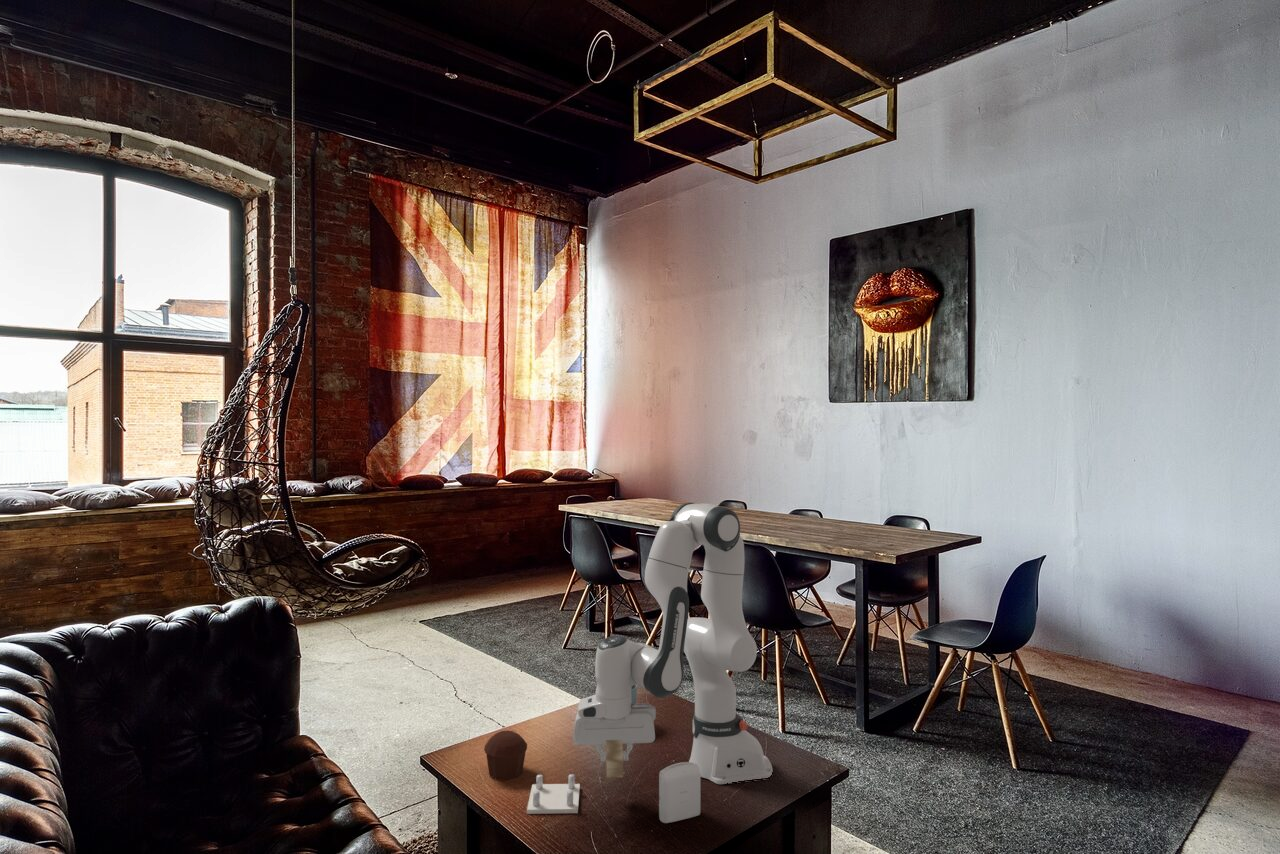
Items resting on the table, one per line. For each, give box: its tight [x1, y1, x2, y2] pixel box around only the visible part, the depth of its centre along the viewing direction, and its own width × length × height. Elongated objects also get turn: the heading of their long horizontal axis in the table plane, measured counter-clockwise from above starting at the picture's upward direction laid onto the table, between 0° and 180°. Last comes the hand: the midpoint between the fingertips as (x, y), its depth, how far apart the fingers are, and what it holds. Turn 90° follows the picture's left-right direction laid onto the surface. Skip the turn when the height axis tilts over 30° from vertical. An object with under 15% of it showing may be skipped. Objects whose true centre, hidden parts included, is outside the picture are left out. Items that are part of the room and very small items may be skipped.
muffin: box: [483, 730, 528, 781], centre depth 187 cm, size 12×11×10 cm
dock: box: [526, 773, 581, 815], centre depth 173 cm, size 12×12×4 cm
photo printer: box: [658, 761, 702, 824], centre depth 166 cm, size 10×4×12 cm, turn 114°
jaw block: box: [605, 740, 624, 779], centre depth 174 cm, size 4×4×9 cm
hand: (614, 760), depth 174 cm, fingers closed on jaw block, 4 cm apart
